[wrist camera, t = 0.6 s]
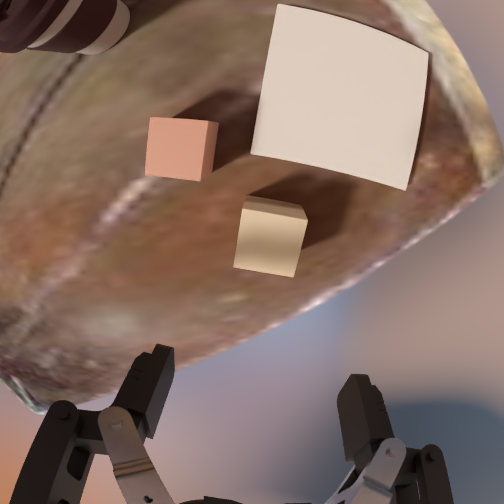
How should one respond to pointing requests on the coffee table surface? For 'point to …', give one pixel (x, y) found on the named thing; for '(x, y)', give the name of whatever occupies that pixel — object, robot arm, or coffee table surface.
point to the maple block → (270, 236)
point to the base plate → (340, 97)
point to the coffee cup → (62, 25)
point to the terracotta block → (181, 148)
